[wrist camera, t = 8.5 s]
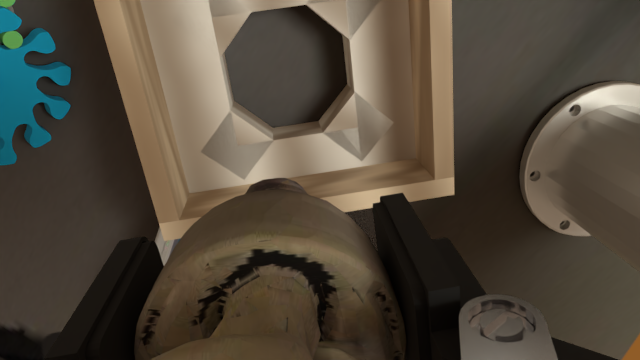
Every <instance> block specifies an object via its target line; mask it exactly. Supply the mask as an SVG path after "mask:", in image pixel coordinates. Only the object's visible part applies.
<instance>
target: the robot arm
mask: <svg viewBox="0 0 640 360" xmlns="http://www.w3.org/2000/svg"><path fill="white" fill-rule="evenodd" d="M519 180H520V189H521V193H522V196H523V198H524V201H525V203H526V205H527V207H528V208H529V210H530V211H531V213H532V214H533V215H534V216H535V217H537V218H538V219H539V220H540V221H541V222H542V223H543V224H545V225H546V226H547V227H549V228H550V229H552V230H554V231H556V232H558V233H561V234H566V235H571V236H593V237H594V238H596V239H597V240H598V241H600V242H601V243H602V244H603V245H605V246H606V247H607V248H609V249H610V250H611V251H613V252H614V253H615V254H617V255H618V256H619V257H621V258H622V259H623V260H624V261H626V262H627V263H628V264H630V265H631V266H632V267H634V268H635V269H636V270H638V271H639V272H640V84H636V83H632V82H625V81H609V82H603V83H597V84H594V85H591V86H588V87H585V88H582V89H580V90H579V91H577V92H575V93H573V94H571V95H569V96H567V97H566V98H565V99H563V100H562V101H561V102H559V103H558V104H557V105H556V106H554V107H553V108H552V109H551V110H550V111H549V112H548V113H547V114H546V115H545V116H544V117H543V119H542V120H541V121H540V122H539V124H538V125H537V127H536V128H535V130H534V131H533V132H532V134H531V136H530V138H529V140H528V142H527V144H526V146H525V149H524V152H523V156H522V159H521V163H520V174H519ZM373 214H374V223H375V231H376V239H377V248H378V255H379V257H380V259H381V261H382V263H383V265H384V267H385V268H386V270H387V272H388V274H389V277H390V280H391V283H392V286H393V288H394V291H395V294H396V298H397V301H398V305H399V308H400V311H401V314H402V317H403V320H404V323H405V332H406V340H407V345H406V360H618V359H615V358H612V357H609V356H606V355H603V354H600V353H597V352H594V351H591V350H588V349H585V348H582V347H579V346H576V345H573V344H570V343H567V342H564V341H561V340H558V339H555V338H552V337H551V336H550V332H549V329H548V326H547V323H546V320H545V318H544V316H543V315H542V313H541V312H540V311H539V310H538V309H537V308H536V307H535V306H534V305H532V304H530V303H528V302H526V301H525V300H523V299H520V298H516V297H513V296H510V295H500V294H492V295H487V294H486V293H485V291H484V290H483V288H482V287H481V286H480V284H479V283H478V281H477V280H476V278H475V277H474V275H473V274H472V272H471V271H470V269H469V268H468V266H467V265H466V263H465V262H464V260H463V259H462V258H461V256H460V255H459V253H458V252H457V250H456V249H455V247H454V246H453V244H452V243H451V241H450V240H449V239H448V238H439V239H434V240H431V238H430V236H429V235H428V233H427V232H426V230H425V228H424V227H423V225H422V223H421V222H420V220H419V218H418V217H417V215H416V213H415V212H414V210H413V209H412V207H411V205H410V204H409V202H408V200H407V199H406V197H405V195H404V194H403V193H397V194H391V195H385V196H380V202H379V203H373ZM163 267H164V265H163V262H162V259H161V256H160V253H159V250H158V247H157V244H156V243H155V242H154V241H150V242H149V241H148V240H147V238H146V237H139V238H133V239H127V240H121V241H120V242H119V243H118V244H117V246H116V247H115V249H114V251H113V252H112V254H111V255H110V257H109V258H108V260H107V261H106V263H105V265H104V266H103V268H102V269H101V271H100V272H99V274H98V276H97V277H96V279H95V280H94V282H93V283H92V285H91V286H90V288H89V290H88V291H87V293H86V294H85V296H84V297H83V299H82V301H81V302H80V304H79V305H78V307H77V308H76V310H75V311H74V313H73V315H72V316H71V318H70V319H69V321H68V322H67V324H66V326H65V327H64V329H63V330H62V332H61V333H60V335H59V336H58V338H57V340H56V341H55V343H54V344H53V346H52V348H51V349H50V351H49V352H48V354H47V355H46V357H45V358H44V359H45V360H135V356H134V344H135V335H136V326H137V323H138V320H139V317H140V314H141V312H142V310H143V307H144V305H145V303H146V301H147V298H148V296H149V294H150V292H151V291H152V288H153V286H154V284H155V281H156V280H157V278H158V276H159V274H160V273H161V271H162V269H163Z"/></svg>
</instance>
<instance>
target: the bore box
mask: <svg viewBox="0 0 640 360" xmlns="http://www.w3.org/2000/svg"><path fill="white" fill-rule="evenodd" d="M94 3H95V7H96V10H97V14H98V17H99V20H100V24H101V27H102V31H103V34H104V37H105V41H106V44H107V48H108V51H109V55H110V58H111V61H112V65H113V68H114V72H115V75H116V78H117V82H118V85H119V89H120V92H121V96H122V99H123V102H124V106H125V109H126V113H127V116H128V119H129V123H130V126H131V130H132V133H133V136H134V140H135V143H136V147H137V150H138V154H139V157H140V160H141V164H142V167H143V171H144V174H145V177H146V181H147V184H148V188H149V191H150V195H151V198H152V201H153V205H154V208H155V212H156V215H157V218H158V222H159V225H160V229H161V232H162V236H163V239H164V241H168V240H174V239H180V238H182V236H183V235H184V233H185V232H186V231H187V230H188V229H189V228H190V227H191V226H192V225H193V224H194V223H195V222H196V221H197V220H199V219H200V218H201V217H202V216H204V215H205V214H206V213H207V212H209V211H210V210H211V209H212V208H214V207H216V206H217V205H219V204H221V203H223V202H225V201H227V200H229V199H232V198H234V197H236V196H240V195H244V194H245V193H246V192H247V190H248V189H249V187H250V186H251V185H252V184H255V183H257V182H259V181H262V180H265V179H274V178H287V179H290V180H293V181H296V182H297V183H298V184H299V185H301V186H302V187H303V189H304V190H305V191H306V192H307V194H308V195H311V196H314V197H317V198H320V199H323V200H326V201H328V202H330V203H331V204H332V205H334V206H335V207H337V208H338V209H340V210H341V211H343V212H349V211H356V210H362V209H368V208H373V203H379V202H380V196H385V195H391V194H397V193H403V194H404V195H405V197H406V199H407V200H408V202H412V201H418V200H424V199H431V198H437V197H443V196H450V195H454V133H453V64H452V0H94ZM299 5H306V6H307V7H309V8H310V9H311V10H312V11H314V12H315V13H316V14H317V15H318V16H320V17H321V18H322V19H323V20H324V21H326V22H327V23H328V24H329V25H331V26H332V27H333V28H334V29H335V30H337V31H338V32H339V33H340V34H342V37H343V47H344V57H345V66H346V76H347V85H346V86H345V87H344V89H343V90H342V91H341V93H340V94H339V95H338V96H337V98H336V99H335V100H334V102H333V103H332V104H331V105H330V107H329V108H328V109H327V111H326V112H325V113H324V115H323V116H322V117H321V118H320V120H319V121H315V122H308V123H302V124H295V125H288V126H282V127H275V128H272V127H271V126H269V125H268V124H267V123H265V122H264V121H262V120H261V119H259V118H258V117H257V116H255V115H254V114H252V113H251V112H249V111H248V110H247V109H245V108H244V107H242V106H241V105H239V104H238V103H237V102H235V101H234V99H233V94H232V89H231V84H230V79H229V74H228V69H227V64H226V59H225V54H224V51H225V50H226V48H227V47H228V45H229V44H230V42H231V41H232V40H233V38H234V37H235V35H236V34H237V32H238V31H239V29H240V28H241V26H242V25H243V23H244V22H245V21H246V19H247V18H248V16H249V15H250V13H251V12H256V11H263V10H270V9H278V8H285V7H292V6H299Z"/></svg>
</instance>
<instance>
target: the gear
mask: <svg viewBox="0 0 640 360" xmlns="http://www.w3.org/2000/svg"><path fill="white" fill-rule="evenodd" d="M14 2H15V0H0V165H9V164H14V163H15V162H16V160H17V156H16V153H15V152H14V150H13V148H12V137H13V134H14V131H15V129H16V127H17V126H18V125H20V124H27V128H26V131H25V134H24V137H25V139H26V141H27V142H28V143H29V144H30V145H31V146H33V147H34V148H37V147H40V146H42V145H44V144H46V143H47V142H49V141H50V140H51V135H50V134H49V133H48V132H47V131H46V130H45V129H44V128H43V127H41V126H39V125H38V124H37V123H36V121H35V118H34V115H33V107H34V106H35V105H36V104H37V103H40V102H44V105H45V109H46V111H47V112H48V113H49V114H51V115H52V116H53V117H54V118H56V119H62V118H63V117H64V116H65V115H66V114H67V112H68V111H69V109H70V107H71V105H70V104H69V103H68V102H67V101H65V100H64V99H63V98H61V97H59V96H50V95H46V94H44V93H42V92H41V91H39V90H38V88H37V86H36V82H37V80H38V79H39V78H40V77H43V76H48V77H49V78H50V79H51V80H53V81H54V82H55V83H57V84H58V85H61V86H65V85H68V84H69V82H70V78H71V68H70V67H68V66H67V65H66V64H64V63H62V62H54V63H51V64H48V65H43V66H37V65H31V64H28V63H25V62H24V56H25V54H26V53H27V52H29V51H38V52H41V53H45V54H48V53H51V52H53V51H54V50H55V49H56V48H55V43H54V41H53V39H52V37H51V36H50V34H49V33H48V32H47V31H45V30H44V29H42V28H36V29H34V30H32V31H31V32H30V33H29V35H28V36H27V37H26V38H24V39H23V38H22V36H21V35H20V34H19V33H18V32H17V31H15V30H16V29H18V28H19V27H20V25H21V22H22V20H21V19H20V18H19V17H18V16H17V15H16V14H14V10H13V7H12V5H13V4H14ZM2 43H3V44H4V45H2Z"/></svg>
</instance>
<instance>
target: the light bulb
mask: <svg viewBox="0 0 640 360" xmlns="http://www.w3.org/2000/svg"><path fill="white" fill-rule="evenodd" d="M406 345H407V340H406V332H405V323H404V320H403V317H402V314H401V311H400V308H399V305H398V301H397V298H396V294H395V291H394V288H393V286H392V283H391V280H390V277H389V274H388V272H387V270H386V268H385V267H384V265H383V263H382V261H381V259H380V257H379V255H378V253H377V251H376V249H375V247H374V246H373V244H372V242H371V241H370V239H369V237H368V236H367V234H366V233H365V232H364V231H363V230H362V229H361V228H360V227H359V226H358V225H357V224H356V223H355V222H354V221H353V220H352V218H351V217H350V216H348V215H347V214H345V213H344V212H343V211H341V210H340V209H338V208H337V207H335V206H334V205H332V204H331V203H330V202H328V201H326V200H323V199H320V198H317V197H314V196H311V195H308V194H307V192H306V191H305V190H304V189H303V187H302V186H301V185H299V184H298V183H297V182H296V181H293V180H290V179H287V178H274V179H265V180H262V181H259V182H257V183H255V184H252V185H251V186H250V187H249V189H248V190H247V192H246V193H245V194H244V195H240V196H236V197H234V198H232V199H229V200H227V201H225V202H223V203H221V204H219V205H217V206H216V207H214V208H212V209H211V210H210V211H209V212H207V213H206V214H205V215H204V216H202V217H201V218H200V219H199V220H197V221H196V222H195V223H194V224H193V225H192V226H191V227H190V228H189V229H188V230H187V231H186V232H185V233H184V235H183V236H182V238H181V239H180V240H179V242H178V243H177V245H176V246H175V248H174V249H173V251H172V253H171V255H170V257H169V259H168V260H167V262H166V264H165V266H164V267H163V269H162V271H161V273H160V274H159V276H158V278H157V280H156V281H155V284H154V286H153V288H152V291H151V292H150V294H149V296H148V298H147V301H146V303H145V305H144V307H143V310H142V312H141V314H140V317H139V320H138V323H137V326H136V335H135V344H134V356H135V360H406Z"/></svg>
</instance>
